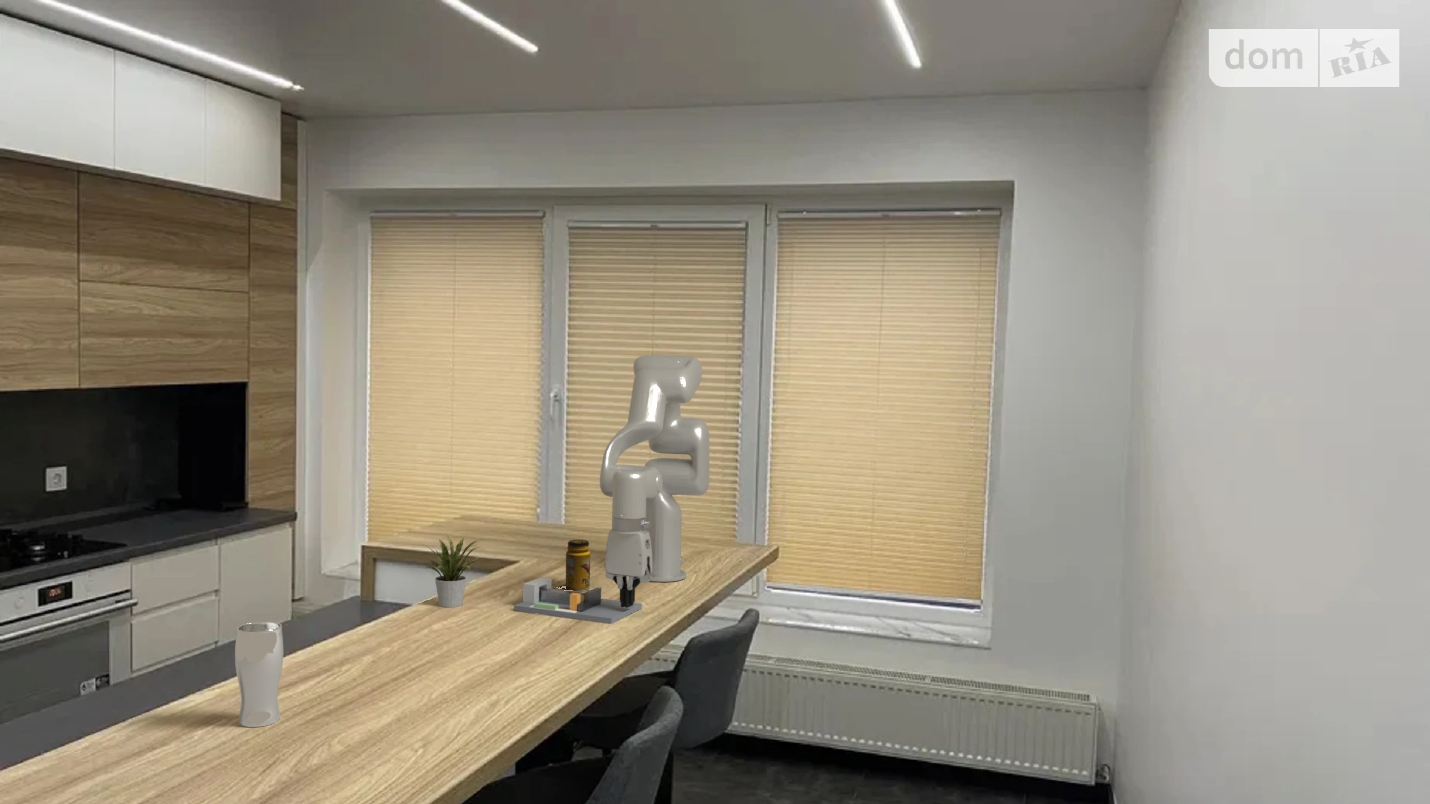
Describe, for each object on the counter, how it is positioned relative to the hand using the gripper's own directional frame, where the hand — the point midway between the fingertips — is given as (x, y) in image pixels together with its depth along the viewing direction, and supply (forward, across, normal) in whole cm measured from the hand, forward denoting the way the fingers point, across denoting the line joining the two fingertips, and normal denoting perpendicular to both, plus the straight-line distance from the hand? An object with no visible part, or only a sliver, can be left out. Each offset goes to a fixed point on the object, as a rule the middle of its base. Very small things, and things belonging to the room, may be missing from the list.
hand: (627, 605), depth 232 cm
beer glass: (+3, +22, +84) cm, 87 cm away
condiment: (+3, +24, -18) cm, 30 cm away
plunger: (+1, +16, +1) cm, 16 cm away
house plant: (+3, +40, +9) cm, 41 cm away
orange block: (+1, +11, +5) cm, 12 cm away
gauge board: (+2, +12, 0) cm, 13 cm away
